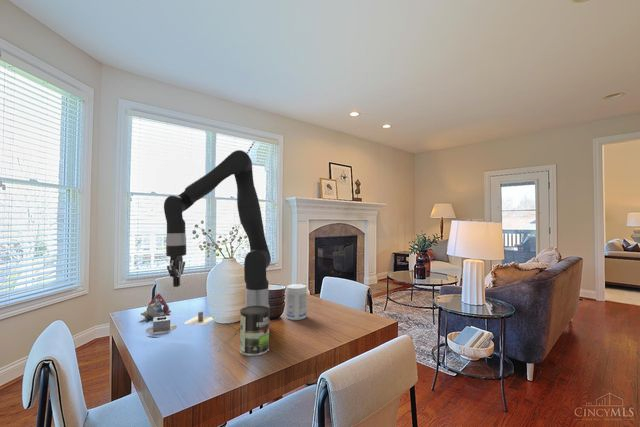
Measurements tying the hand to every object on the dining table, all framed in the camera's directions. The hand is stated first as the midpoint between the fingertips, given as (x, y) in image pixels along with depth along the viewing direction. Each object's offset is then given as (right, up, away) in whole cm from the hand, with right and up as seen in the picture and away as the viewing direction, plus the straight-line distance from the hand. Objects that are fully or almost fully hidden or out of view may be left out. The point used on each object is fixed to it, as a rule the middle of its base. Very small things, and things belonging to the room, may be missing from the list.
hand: (176, 286), depth 125 cm
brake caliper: (-15, -18, +14) cm, 28 cm away
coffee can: (+36, -18, -18) cm, 44 cm away
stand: (+7, -18, +7) cm, 21 cm away
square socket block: (-4, -16, -3) cm, 17 cm away
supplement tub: (+48, -19, +18) cm, 54 cm away
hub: (-5, -18, -3) cm, 19 cm away
